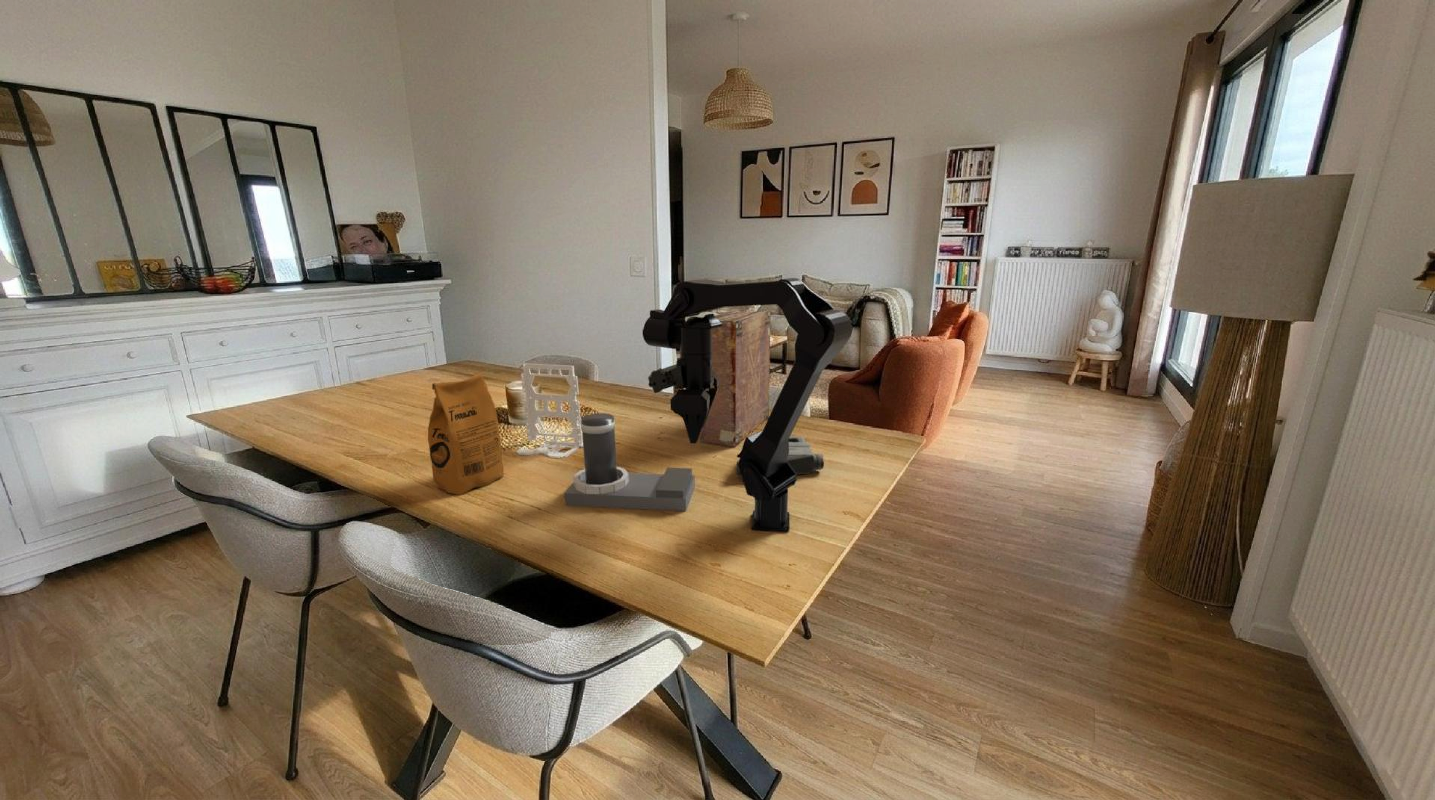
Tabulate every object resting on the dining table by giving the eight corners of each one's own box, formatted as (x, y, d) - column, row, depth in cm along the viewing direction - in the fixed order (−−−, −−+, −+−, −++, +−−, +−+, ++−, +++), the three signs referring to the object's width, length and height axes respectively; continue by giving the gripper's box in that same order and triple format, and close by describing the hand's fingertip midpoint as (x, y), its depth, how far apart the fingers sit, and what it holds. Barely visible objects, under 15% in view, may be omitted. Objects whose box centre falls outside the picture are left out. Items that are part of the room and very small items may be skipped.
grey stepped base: (686, 511, 104) (685, 491, 103) (565, 505, 106) (563, 485, 105) (694, 486, 114) (694, 468, 113) (584, 482, 117) (582, 464, 116)
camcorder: (831, 475, 120) (832, 451, 119) (738, 485, 115) (739, 461, 114) (800, 449, 135) (801, 428, 134) (717, 457, 130) (717, 436, 129)
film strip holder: (510, 454, 132) (501, 370, 127) (541, 435, 145) (534, 358, 140) (567, 459, 129) (559, 373, 124) (593, 439, 142) (588, 361, 136)
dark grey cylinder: (617, 487, 108) (614, 421, 104) (584, 489, 107) (579, 423, 103) (618, 474, 114) (614, 412, 110) (586, 476, 113) (581, 414, 109)
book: (738, 414, 162) (738, 308, 153) (769, 418, 158) (771, 309, 150) (700, 442, 139) (698, 320, 131) (735, 447, 136) (735, 322, 127)
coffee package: (427, 487, 115) (411, 381, 109) (483, 467, 125) (470, 369, 119) (455, 499, 109) (439, 388, 103) (510, 477, 119) (499, 375, 113)
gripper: (662, 342, 111) (664, 418, 115) (638, 361, 93) (642, 451, 97) (719, 342, 110) (719, 419, 114) (706, 363, 92) (707, 453, 96)
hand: (697, 434), depth 105 cm, fingers open, 9 cm apart
